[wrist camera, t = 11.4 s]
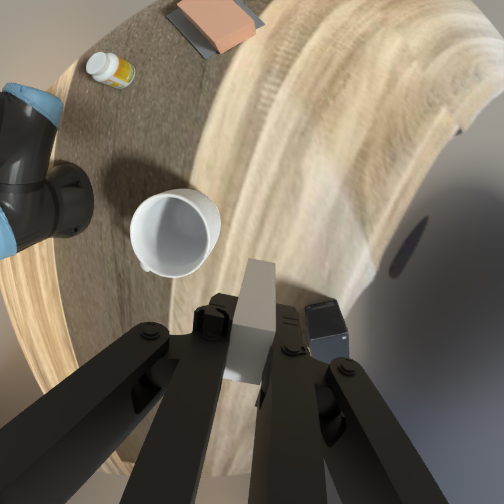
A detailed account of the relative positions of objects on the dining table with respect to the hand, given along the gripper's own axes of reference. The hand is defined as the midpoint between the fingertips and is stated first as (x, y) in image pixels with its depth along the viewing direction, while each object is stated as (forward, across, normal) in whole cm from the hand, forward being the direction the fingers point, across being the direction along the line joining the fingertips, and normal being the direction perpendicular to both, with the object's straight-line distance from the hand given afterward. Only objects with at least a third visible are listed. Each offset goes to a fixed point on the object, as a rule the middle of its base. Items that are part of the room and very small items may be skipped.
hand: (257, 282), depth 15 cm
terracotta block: (+27, -10, +27) cm, 39 cm away
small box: (+30, +15, -20) cm, 39 cm away
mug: (+30, -12, -5) cm, 32 cm away
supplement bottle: (+30, -30, +20) cm, 47 cm away
